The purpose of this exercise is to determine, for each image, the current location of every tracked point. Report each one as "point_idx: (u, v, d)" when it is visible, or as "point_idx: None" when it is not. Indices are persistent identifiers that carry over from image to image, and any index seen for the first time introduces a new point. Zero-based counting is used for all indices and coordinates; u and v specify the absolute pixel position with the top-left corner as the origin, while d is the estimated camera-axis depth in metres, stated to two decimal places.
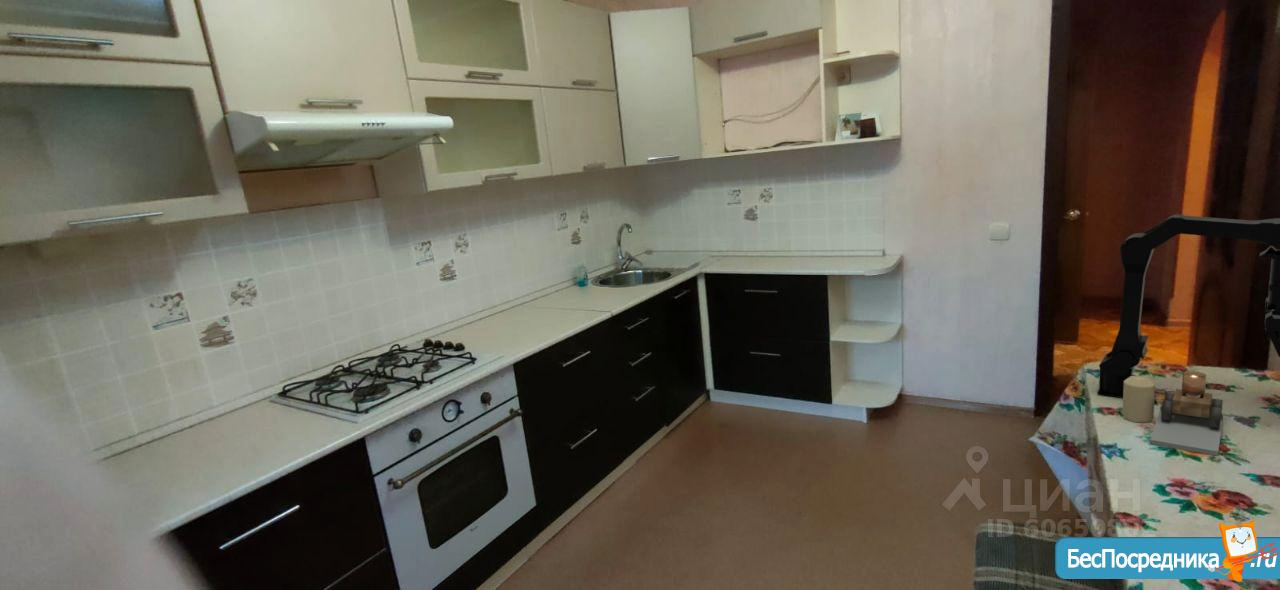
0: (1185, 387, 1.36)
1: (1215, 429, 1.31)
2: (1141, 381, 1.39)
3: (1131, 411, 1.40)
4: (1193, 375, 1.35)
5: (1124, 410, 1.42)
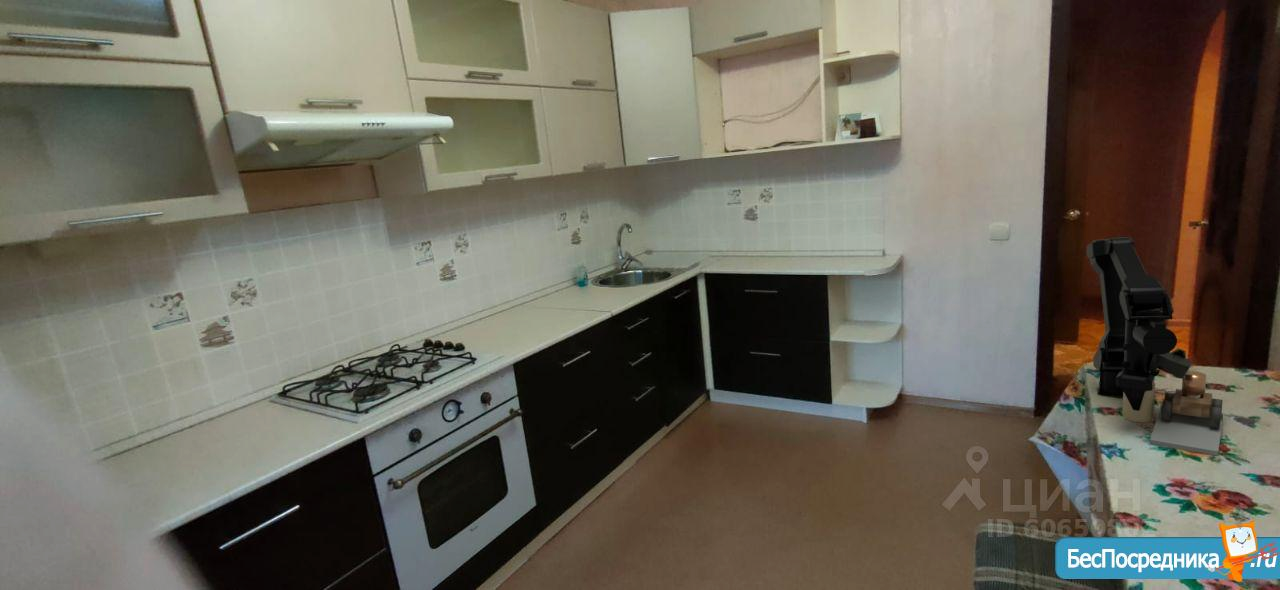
0: (1185, 387, 1.36)
1: (1215, 429, 1.31)
2: None
3: (1131, 411, 1.40)
4: (1193, 375, 1.35)
5: (1124, 410, 1.42)
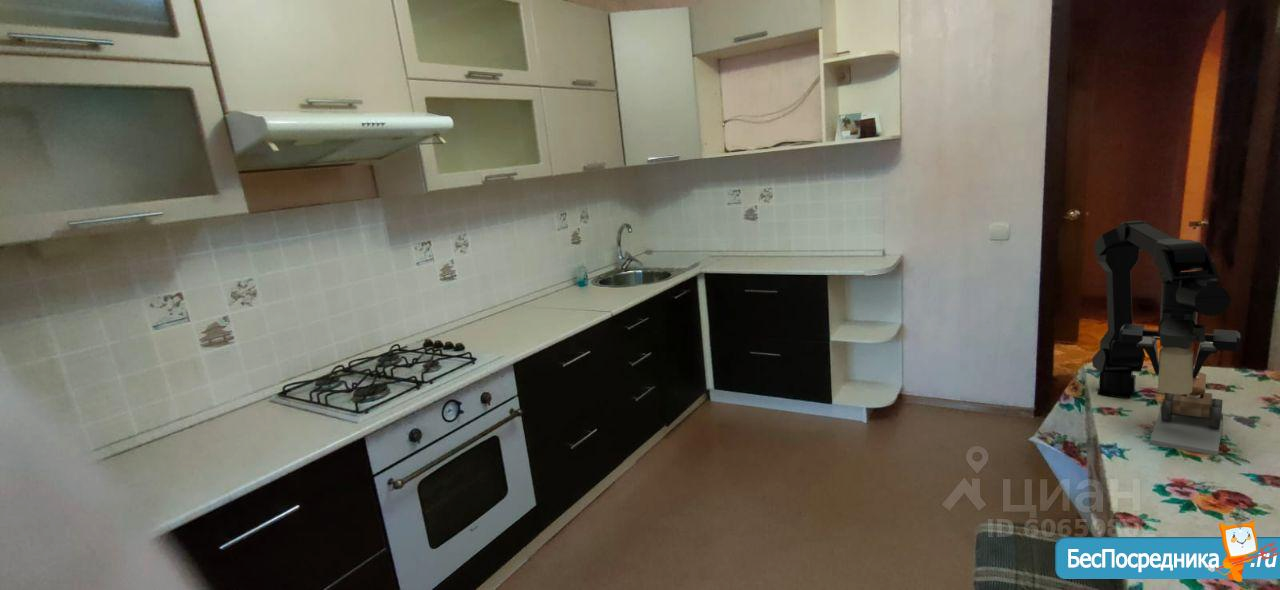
0: None
1: (1215, 429, 1.31)
2: None
3: None
4: None
5: None
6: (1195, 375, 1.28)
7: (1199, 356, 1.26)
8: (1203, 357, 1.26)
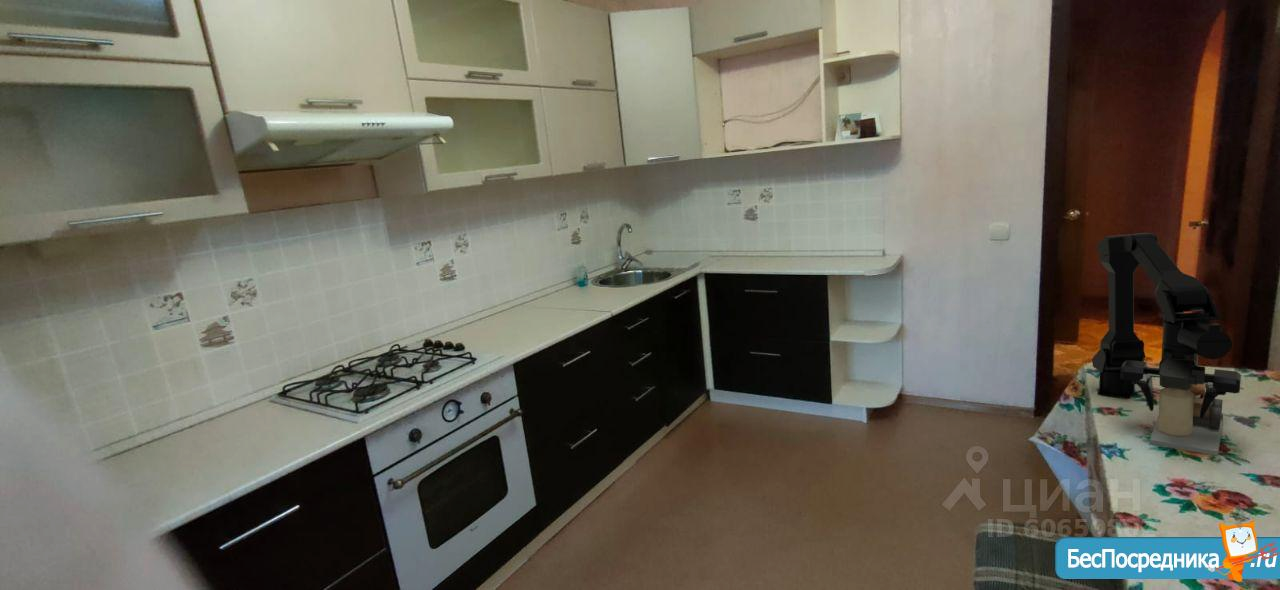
0: None
1: (1215, 429, 1.31)
2: (1165, 388, 1.32)
3: None
4: None
5: None
6: (1202, 415, 1.28)
7: (1206, 397, 1.26)
8: (1210, 398, 1.26)
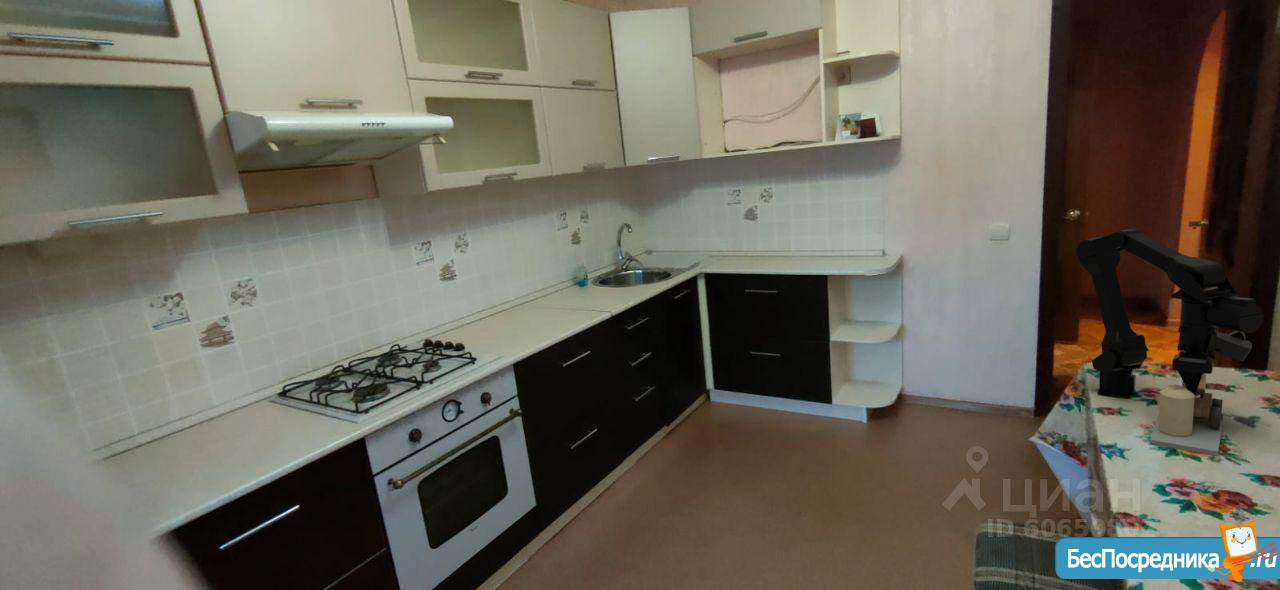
0: (1185, 387, 1.36)
1: (1215, 429, 1.31)
2: (1166, 388, 1.32)
3: None
4: None
5: None
6: None
7: None
8: None
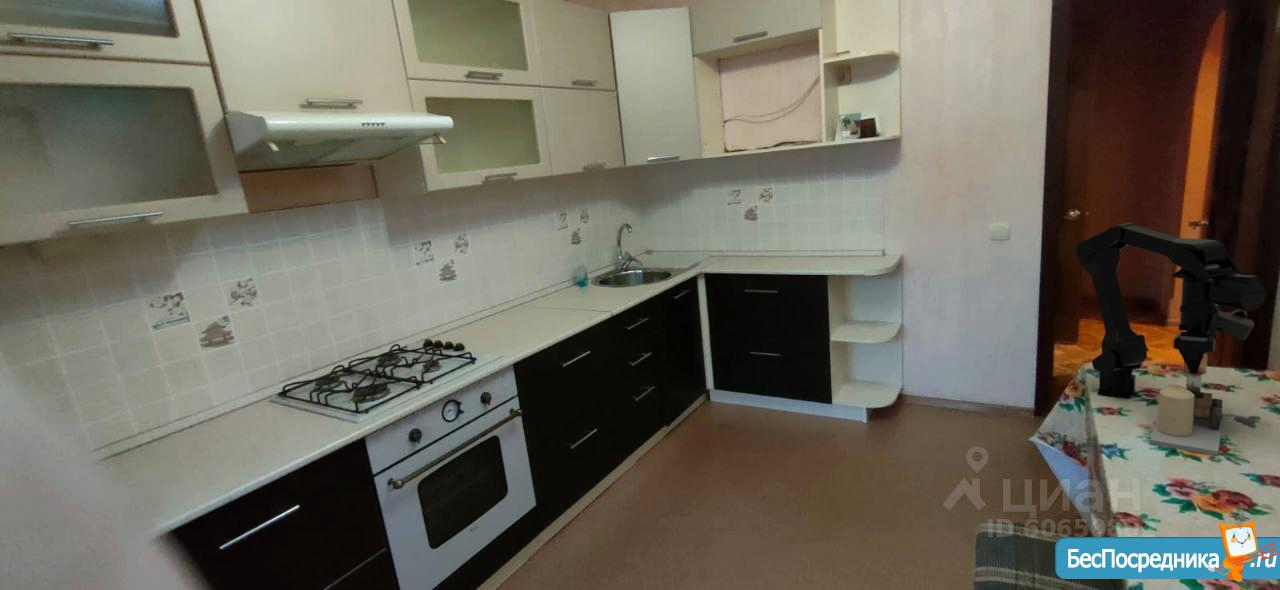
0: (1186, 367, 1.35)
1: (1215, 429, 1.31)
2: (1166, 388, 1.32)
3: None
4: None
5: None
6: None
7: None
8: None
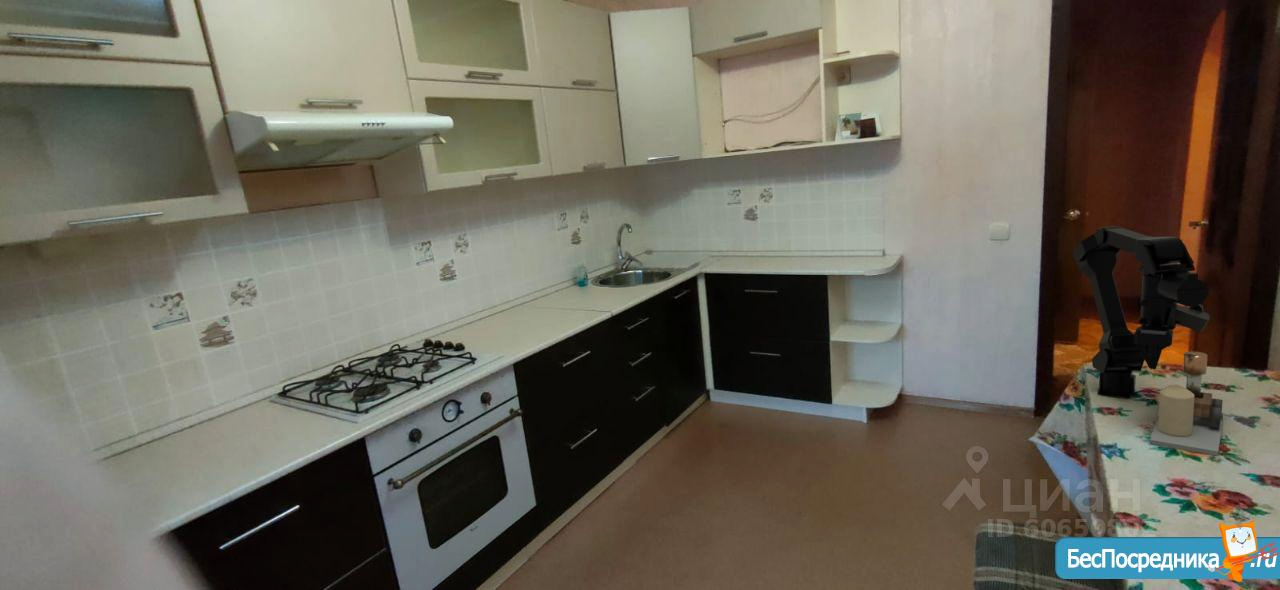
0: (1186, 367, 1.35)
1: (1215, 429, 1.31)
2: (1166, 388, 1.32)
3: None
4: (1195, 355, 1.34)
5: None
6: None
7: None
8: None
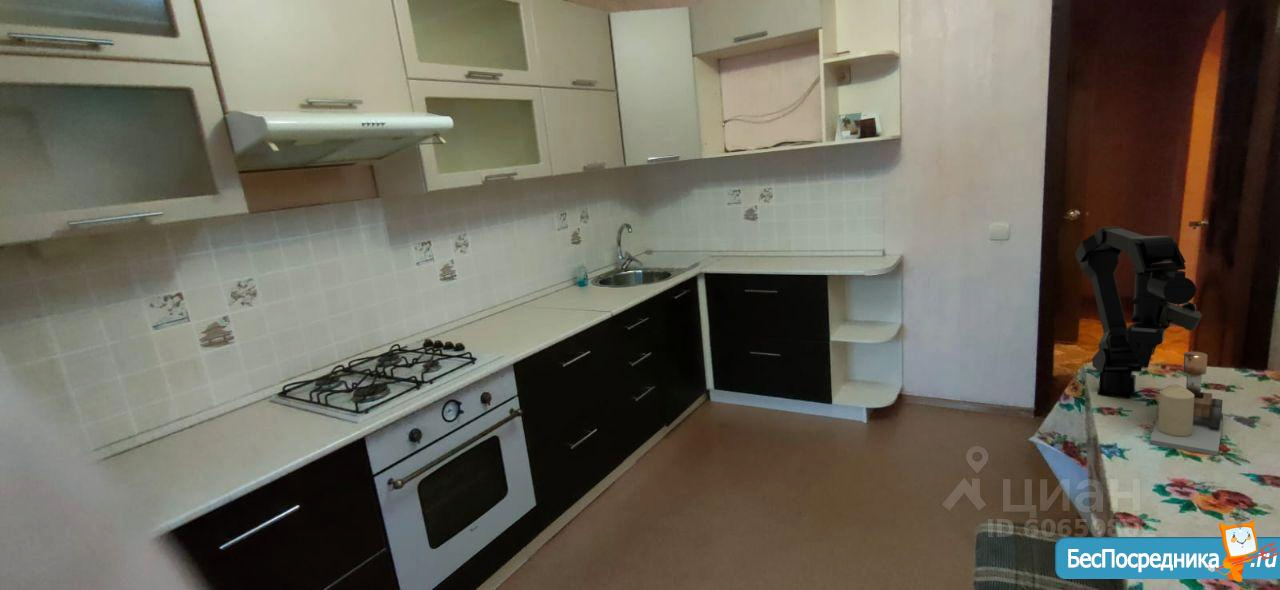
0: (1186, 367, 1.35)
1: (1215, 429, 1.31)
2: (1166, 388, 1.32)
3: None
4: (1195, 355, 1.34)
5: None
6: (1154, 351, 1.43)
7: None
8: None
